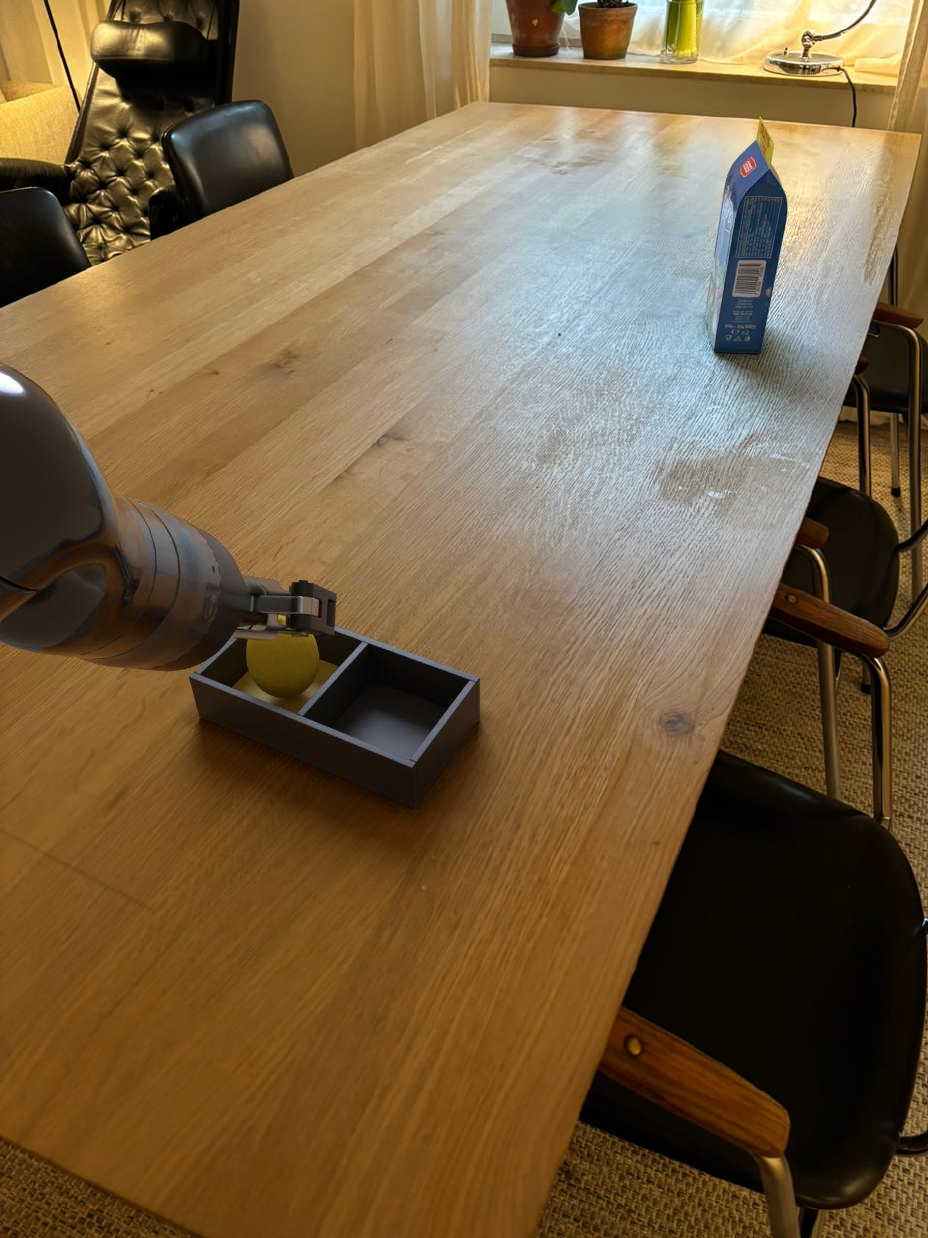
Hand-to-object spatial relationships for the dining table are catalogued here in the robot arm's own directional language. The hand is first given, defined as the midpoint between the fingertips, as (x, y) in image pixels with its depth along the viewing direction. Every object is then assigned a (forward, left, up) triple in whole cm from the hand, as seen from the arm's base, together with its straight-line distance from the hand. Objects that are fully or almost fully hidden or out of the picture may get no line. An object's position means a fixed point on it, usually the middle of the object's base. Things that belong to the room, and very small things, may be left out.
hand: (237, 616), depth 62 cm
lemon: (+8, +4, -16) cm, 19 cm away
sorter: (+8, 0, -17) cm, 19 cm away
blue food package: (+91, -7, -17) cm, 93 cm away
